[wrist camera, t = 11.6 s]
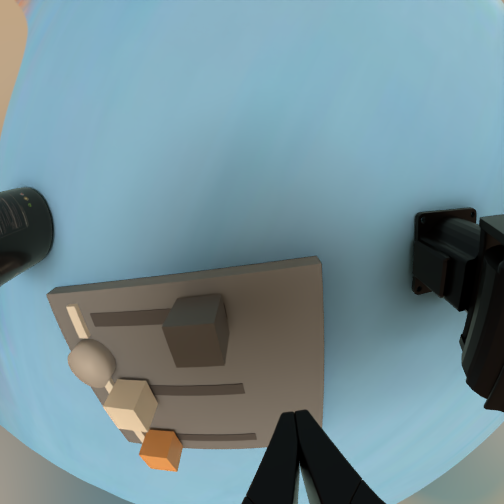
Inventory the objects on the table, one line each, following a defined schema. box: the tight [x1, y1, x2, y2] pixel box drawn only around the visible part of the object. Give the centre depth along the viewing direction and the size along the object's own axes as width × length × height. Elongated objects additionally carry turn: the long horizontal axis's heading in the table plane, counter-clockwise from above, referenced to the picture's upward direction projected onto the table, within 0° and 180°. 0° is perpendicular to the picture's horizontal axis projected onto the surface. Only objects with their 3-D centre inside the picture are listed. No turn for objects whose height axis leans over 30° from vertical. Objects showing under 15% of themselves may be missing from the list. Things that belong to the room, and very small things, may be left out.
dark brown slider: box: [162, 294, 230, 368], centre depth 16 cm, size 3×3×4 cm
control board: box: [46, 256, 324, 449], centre depth 21 cm, size 22×20×4 cm
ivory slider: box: [103, 379, 158, 432], centre depth 19 cm, size 3×3×4 cm
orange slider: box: [139, 430, 183, 472], centre depth 21 cm, size 3×3×4 cm
